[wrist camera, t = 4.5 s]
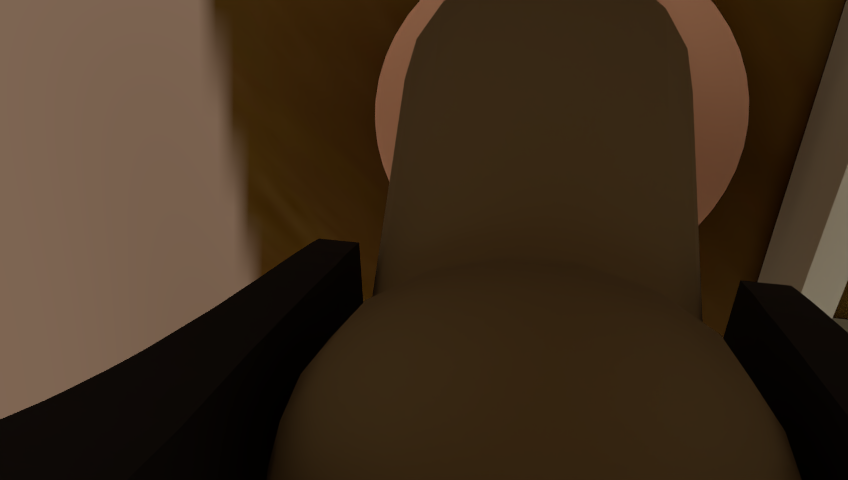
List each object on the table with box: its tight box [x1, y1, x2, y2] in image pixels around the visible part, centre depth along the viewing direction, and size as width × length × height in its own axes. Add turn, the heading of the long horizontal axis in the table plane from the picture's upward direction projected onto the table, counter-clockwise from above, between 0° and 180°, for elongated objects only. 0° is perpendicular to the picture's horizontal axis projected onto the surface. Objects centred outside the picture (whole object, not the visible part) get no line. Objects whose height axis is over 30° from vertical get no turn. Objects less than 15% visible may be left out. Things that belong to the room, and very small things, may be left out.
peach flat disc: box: [375, 0, 749, 225], centre depth 15 cm, size 8×8×1 cm
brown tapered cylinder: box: [266, 0, 802, 480], centre depth 10 cm, size 6×6×11 cm
